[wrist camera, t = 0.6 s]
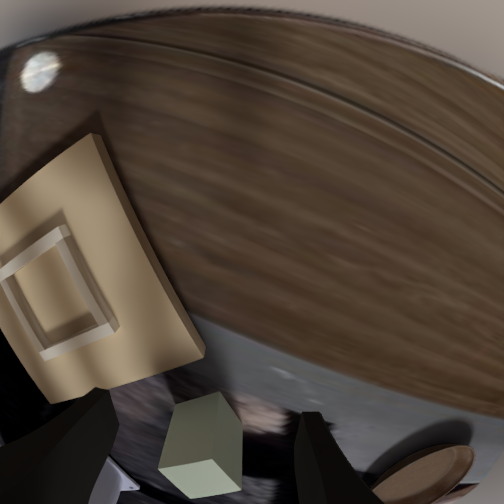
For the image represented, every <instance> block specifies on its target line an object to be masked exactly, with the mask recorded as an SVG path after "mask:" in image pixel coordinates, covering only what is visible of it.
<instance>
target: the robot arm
mask: <svg viewBox="0 0 504 504" xmlns="http://www.w3.org/2000/svg"><path fill="white" fill-rule="evenodd" d="M118 428H119V422H118V419H117V416H116V412H115V409H114V406H113V403H112V399H111V396H110V392H109V390H106V389H102V388H98V387H95V388H93V389H92V390H91V391H89V392H88V393H87V394H85V395H84V396H83V397H82V398H80V399H79V400H78V401H76V402H75V403H74V404H73V405H71V406H70V407H69V408H67V409H66V410H65V411H63V412H62V413H61V414H59V415H58V416H56V417H55V418H54V419H52V420H51V421H49V422H48V423H46V424H45V425H43V426H41V427H40V428H38V429H37V430H35V431H33V432H32V433H30V434H28V435H26V436H24V437H22V438H20V439H18V440H16V441H14V442H11V443H9V444H6V445H4V446H1V447H0V504H116V503H117V500H118V497H119V494H120V491H125V490H139V488H140V486H139V485H138V484H137V483H136V482H135V481H134V480H133V479H132V478H131V477H130V476H128V475H127V474H126V473H125V472H124V471H123V470H122V469H121V468H120V467H119V466H118V465H117V464H116V463H115V462H114V461H113V460H112V459H111V458H110V457H109V456H108V455H109V453H110V451H111V449H112V447H113V444H114V441H115V438H116V435H117V431H118ZM294 459H295V475H296V482H297V489H298V496H299V504H385V503H384V502H383V501H382V500H381V499H380V498H379V497H378V496H377V495H376V494H375V493H374V492H373V491H372V490H371V489H370V488H369V487H368V486H367V484H366V483H365V482H364V481H363V480H362V479H361V477H360V476H359V475H358V474H357V472H356V471H355V470H354V468H353V467H352V466H351V464H350V463H349V461H348V460H347V458H346V457H345V455H344V454H343V452H342V451H341V449H340V448H339V446H338V444H337V443H336V441H335V439H334V438H333V436H332V434H331V432H330V431H329V429H328V427H327V425H326V423H325V421H324V419H323V417H322V414H321V413H320V412H302V414H301V419H300V423H299V428H298V432H297V436H296V440H295V444H294Z"/></svg>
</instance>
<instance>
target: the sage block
mask: <svg viewBox="0 0 504 504" xmlns="http://www.w3.org/2000/svg"><path fill="white" fill-rule="evenodd" d="M158 470H159V471H160V472H161V473H162V474H164V475H165V476H166V477H167V478H168V479H169V480H170V481H171V482H172V483H173V484H174V485H175V486H176V487H178V488H179V489H180V490H181V491H182V492H183V493H184V494H185V495H187V496H188V497H189V498H190V499H192V498H199V497H206V496H212V495H218V494H224V493H229V492H234V491H239V490H242V423H241V421H240V420H239V418H238V417H237V416H236V414H235V413H234V411H233V410H232V408H231V407H230V406H229V404H228V403H227V401H226V400H225V398H224V397H223V395H222V394H221V392H220V391H218V392H215V393H212V394H209V395H206V396H203V397H199V398H196V399H193V400H189V401H186V402H182V403H179V404H176V405H175V408H174V412H173V415H172V419H171V422H170V426H169V429H168V433H167V437H166V440H165V444H164V448H163V451H162V455H161V459H160V462H159V466H158Z"/></svg>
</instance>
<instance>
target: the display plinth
mask: <svg viewBox="0 0 504 504" xmlns="http://www.w3.org/2000/svg"><path fill="white" fill-rule="evenodd" d="M0 328H1V330H2V332H3V334H4V335H5V337H6V339H7V340H8V342H9V344H10V345H11V347H12V349H13V350H14V352H15V354H16V355H17V357H18V358H19V360H20V361H21V363H22V364H23V366H24V367H25V369H26V370H27V372H28V373H29V375H30V376H31V378H32V379H33V381H34V382H35V383H36V385H37V386H38V388H39V389H40V390H41V392H42V393H43V394H44V396H45V397H46V398H47V400H48V401H49V402H50V404H54V403H58V402H62V401H66V400H70V399H74V398H77V397H81V396H84V395H85V394H87V393H88V392H89V391H91V390H92V389H93V388H95V387H98V388H102V389H110V388H113V387H117V386H120V385H123V384H127V383H130V382H133V381H136V380H140V379H143V378H146V377H149V376H152V375H155V374H158V373H161V372H164V371H167V370H170V369H173V368H176V367H179V366H182V365H185V364H188V363H190V362H193V361H196V360H199V359H202V358H204V354H205V350H206V345H205V344H204V342H203V340H202V339H201V337H200V335H199V334H198V332H197V330H196V328H195V327H194V325H193V323H192V321H191V320H190V318H189V316H188V314H187V313H186V311H185V309H184V307H183V306H182V304H181V302H180V300H179V298H178V296H177V295H176V293H175V291H174V289H173V287H172V285H171V284H170V282H169V280H168V278H167V276H166V274H165V272H164V270H163V269H162V267H161V265H160V263H159V261H158V259H157V257H156V255H155V253H154V251H153V249H152V247H151V245H150V243H149V241H148V239H147V237H146V235H145V233H144V231H143V229H142V227H141V225H140V223H139V221H138V219H137V217H136V214H135V212H134V210H133V208H132V206H131V204H130V202H129V200H128V197H127V195H126V193H125V191H124V189H123V186H122V184H121V182H120V180H119V177H118V175H117V173H116V171H115V168H114V166H113V164H112V161H111V159H110V157H109V154H108V152H107V150H106V147H105V145H104V142H103V140H102V137H101V135H97V134H93V133H90V134H88V135H87V136H85V137H84V138H82V139H81V140H79V141H78V142H77V143H75V144H74V145H72V146H71V147H70V148H68V149H67V150H65V151H64V152H63V153H61V154H60V155H59V156H57V157H56V158H55V159H53V160H52V161H51V162H49V163H48V164H47V165H46V166H44V167H43V168H42V169H40V170H39V171H38V172H37V173H36V174H34V175H33V176H32V177H31V178H29V179H28V180H27V181H26V182H25V183H23V184H22V185H21V186H20V187H19V188H18V189H16V190H15V191H14V192H13V193H12V194H11V195H10V196H9V197H7V198H6V199H5V200H4V201H3V202H2V203H1V204H0Z"/></svg>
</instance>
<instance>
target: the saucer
mask: <svg viewBox="0 0 504 504" xmlns="http://www.w3.org/2000/svg"><path fill="white" fill-rule="evenodd" d="M474 460H475V451H474V449H473V448H472V447H470V446H466V445H462V444H442V445H436V446H432V447H429V448H425V449H423V450H420V451H418V452H416V453H413V454H411V455H410V456H408V457H406V458H404V459H402V460H401V461H399V462H398V463H396V464H395V465H393V466H392V467H391V468H389V469H388V470H387V471H386V472H385V473H383V474H382V475H381V476H380V477H379V478H378V480H377V481H376V482H375V483H374V484H373V486H372V487H371V488H370V489H371V490H372V491H373V492H374V493H375V494H376V495H377V496H378V497H379V498H380V499H381V500H382V501H383V502H384V503H385V504H432V503H434V502H435V501H437V500H439V499H440V498H442V497H443V496H444V495H446V494H447V493H448V492H450V491H451V490H452V489H453V488H454V487H455V486H457V485H458V484H459V483H460V482H461V481H462V480H463V478H464V477H465V476H466V475H467V473H468V472H469V471H470V469H471V467H472V466H473V463H474Z"/></svg>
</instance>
